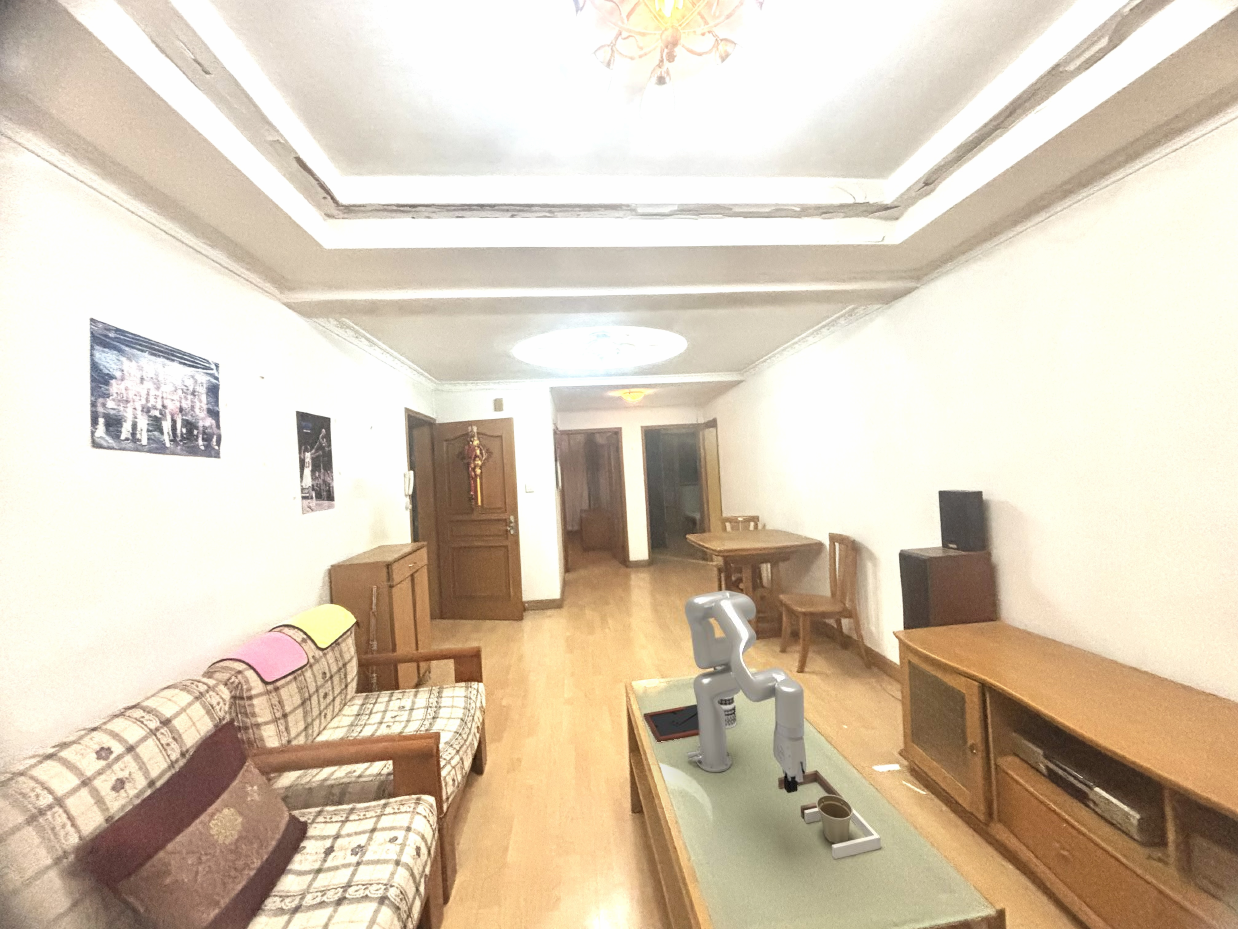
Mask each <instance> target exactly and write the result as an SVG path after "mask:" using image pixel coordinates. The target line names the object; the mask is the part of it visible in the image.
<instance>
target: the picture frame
mask: <svg viewBox="0 0 1238 929" xmlns="http://www.w3.org/2000/svg"><path fill="white" fill-rule="evenodd" d="M644 717H645V718H644ZM643 718H644V720H645V722H646V721H647V722H646V724H647V726H648V725H649V726H648V728H649V727H650V728H649V729H651V730H650V731H651V733H652V735H653V738H654V739H655V740H657V741H656V743H657V742H661V741H666V742H668V741H667V740H672V741H675V740H674V739H677V740H680V738H682V739H687V738H691V737H696V736H698V737H699V726H698V711H697V703H696V704H691V705H690V704H689V705H684V706H680V707H674V708H673V707H672V708H668V709H663V710H657V711H651V712H645V713H643ZM661 743H662V742H661Z"/></svg>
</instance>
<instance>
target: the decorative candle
mask: <svg viewBox="0 0 1238 929" xmlns="http://www.w3.org/2000/svg"><path fill="white" fill-rule="evenodd" d="M720 668H722V666H718V667H715V668H712V670H717V669H720ZM734 697H735V695H733V696H730V697H726V698H723V699H720V700H719V701H718V703H719V704H720V705H721V706H722V708H723V710H724V713H725V726H726V729H731V728H734V727H735V726H736V725H737V713H736V711H737V709H736V708H737V707H736V705H735V698H734Z"/></svg>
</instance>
